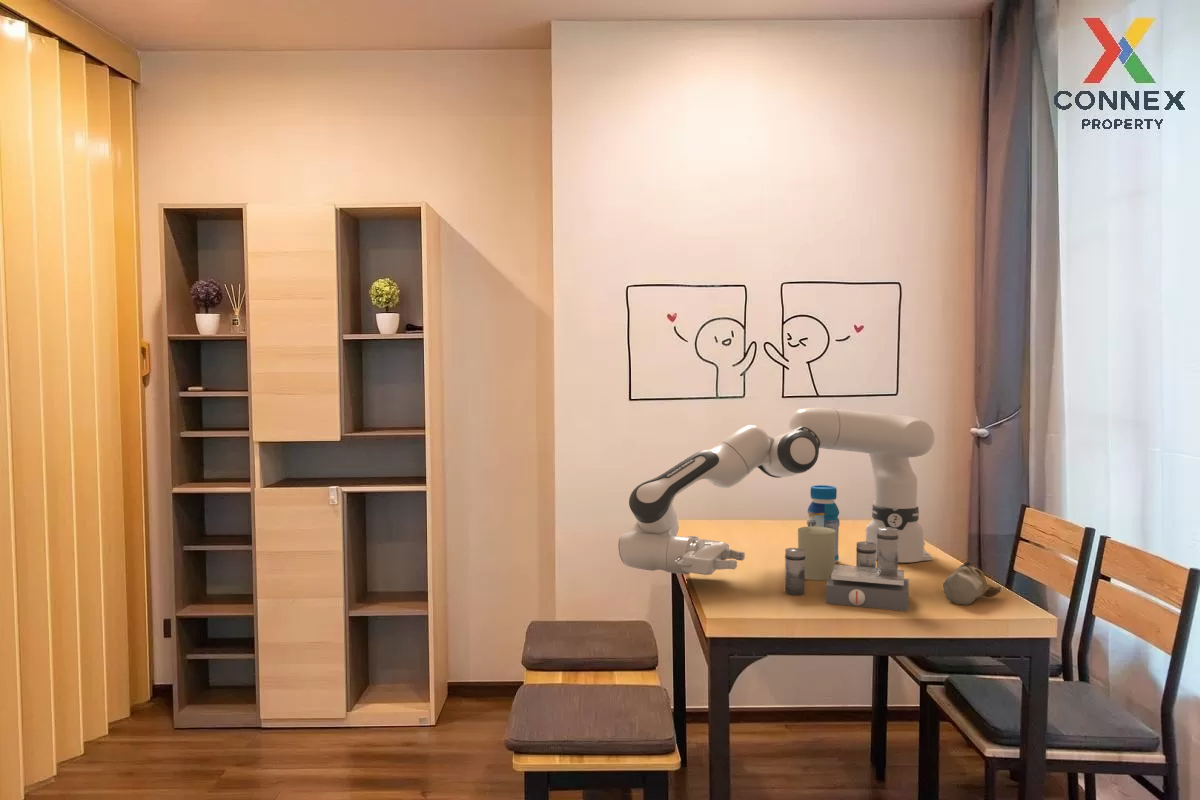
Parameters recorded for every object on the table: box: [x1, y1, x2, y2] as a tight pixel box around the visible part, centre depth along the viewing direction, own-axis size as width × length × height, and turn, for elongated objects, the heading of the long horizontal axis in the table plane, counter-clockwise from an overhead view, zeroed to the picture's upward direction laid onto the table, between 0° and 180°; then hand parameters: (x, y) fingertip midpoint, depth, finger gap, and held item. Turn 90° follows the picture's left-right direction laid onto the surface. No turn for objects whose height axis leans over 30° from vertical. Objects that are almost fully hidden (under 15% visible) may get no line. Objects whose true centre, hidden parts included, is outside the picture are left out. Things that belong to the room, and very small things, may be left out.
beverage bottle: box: [806, 484, 841, 564], centre depth 220 cm, size 8×8×20 cm
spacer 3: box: [876, 527, 899, 576], centre depth 181 cm, size 4×4×10 cm
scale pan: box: [831, 564, 905, 585], centre depth 183 cm, size 10×15×1 cm, turn 70°
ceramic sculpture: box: [942, 562, 1002, 605], centre depth 184 cm, size 11×9×15 cm
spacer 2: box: [855, 541, 877, 568], centre depth 196 cm, size 4×4×10 cm
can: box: [797, 526, 836, 581], centre depth 204 cm, size 9×9×12 cm
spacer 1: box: [784, 547, 806, 597], centre depth 189 cm, size 4×4×10 cm
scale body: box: [825, 573, 910, 612], centre depth 183 cm, size 12×17×4 cm
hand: (740, 560), depth 193 cm, fingers open, 8 cm apart
